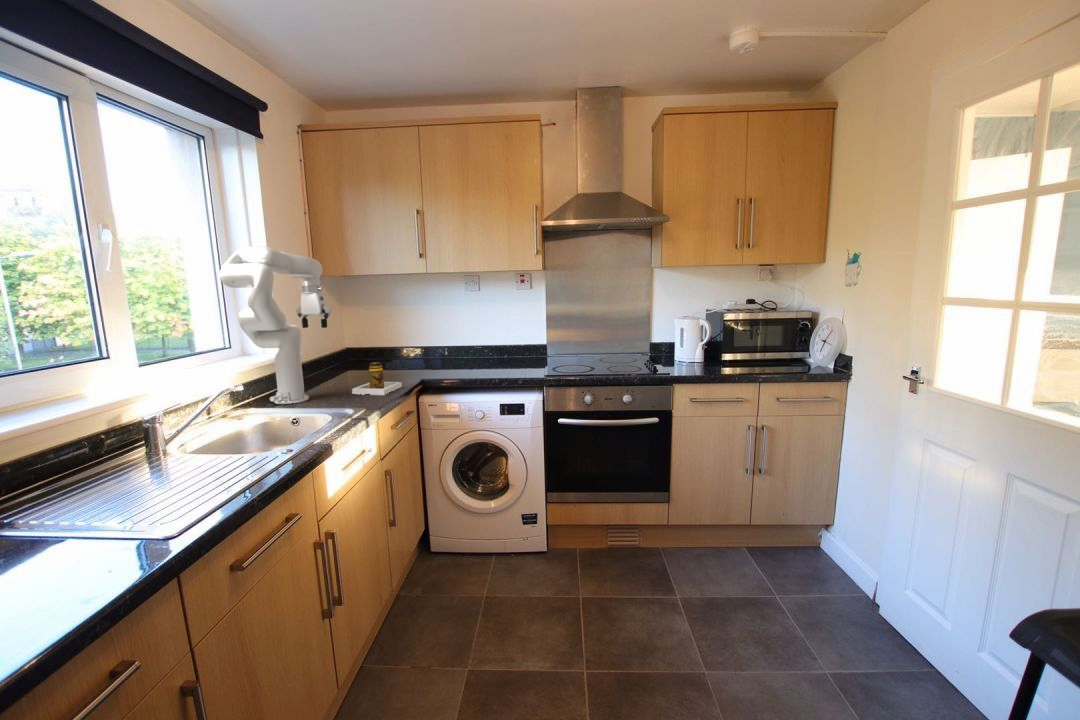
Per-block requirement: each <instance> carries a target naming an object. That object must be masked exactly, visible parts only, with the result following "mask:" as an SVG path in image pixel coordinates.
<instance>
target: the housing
mask: <svg viewBox="0 0 1080 720" xmlns="http://www.w3.org/2000/svg"><path fill="white" fill-rule="evenodd" d="M402 384H403V382H402V381H399V382H398V381H384V387H386V388H383V389H371V388H369V387H370V382H367V383H365V384H362V385H359V386H357V387H354V388H352V389H351V393H352V394H357V395H358V394H359V395H360V394H361V396H366V395H365V394H370V395H369V396H386V395H388V394H390V393H389V392H391V391H393V392H395V391H397V390H396V389H398V388H400V387H402V388H403V385H402ZM400 389H401V388H400ZM394 390H395V391H394ZM398 390H399V389H398ZM387 393H388V394H387ZM391 393H392V392H391ZM385 394H386V395H385ZM359 395H358V396H359Z"/></svg>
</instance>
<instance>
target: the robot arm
mask: <svg viewBox="0 0 1080 720" xmlns="http://www.w3.org/2000/svg"><path fill="white" fill-rule="evenodd" d="M274 273H277V274H281V275H288V276H289V277H291V278H293V279H300V280H301V282H300V283H301V290H302V291H301V295H300V306H298V308H296V309H295V312H296V314H297V316H298V317H299V319H300V320H301V326H302V329H307V328H309V319H308V316H318V315H319V317H320V318H321V319H320V326H321V328H322V329H325V328H328V319H329V316H330V315H331V312H332V308H330V307H328V306H326V300H325V296H324V293H322V291H323V287H322V286H321V279H320V277H321V276H322V274H323V266H322V264H321V263H320V261H319V260H318V259H315V258H313V257H309V256H304V255H297V254H294V253H287V252H284V251H281V250H278V249H276V248H272V247H269V246H243V247H240V248H239V249H237V250H236V251H234V253H232V254H231V256H230V257H229V258H228V259H227V260H226V261H225V263H224V264H223V265H222V266H221V269H220V271H219V278H220V280H221V282H222V283H223V284H224V285H225V287H229V288H234V289H235V288H236V289H237V288H252V291H251V293H250V295H249V296H248V299H247V305H248V306H245V307H243V308H242V309H240V311H239V312H238V317H237V318H238V319H237V321H238V323H239V326H240V328H241V330H242V331H243V333H245V334H246V336H247V337H248V338H249V340H251V341H252V343H253V344H254V345H256V346H257V347H258V348H261V349H278V351H277V353H276V354H275V356H274V369H275V379H276V387H277V388H276V389H277V391H276V393H275V395H273V396H270V397H269V401H270V402H274V403H275V404H277V405H290V404H291V405H292V403H293V404H298V403H303V402H307V401H308V400H310V396H309V395H306V394H305V385H304V376H303V374H304V373H303V368H302V366H303V365H302V356H301V353H302V352H301V347H302V330H301V329H300V328H299V327H298V326H297V325H296V324H291V323H287V318H286V315H285V314H284V312H283V310H282V309H281V307H280V306H279V305H278V304H277V302H276V301H275V300H276V299H274V297H273V291H274V290H273V287H274Z"/></svg>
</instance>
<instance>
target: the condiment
mask: <svg viewBox="0 0 1080 720" xmlns="http://www.w3.org/2000/svg"><path fill="white" fill-rule="evenodd" d="M368 365H369V367H368V376H369V377H368V381H369V383H370V387H369V388H371V389H383V388H386V387H384V382H385V378H384V368H383V366H382V362H380V361H379V362H378V361H377V362H376V361H375V362H370V363H369V364H368Z"/></svg>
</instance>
